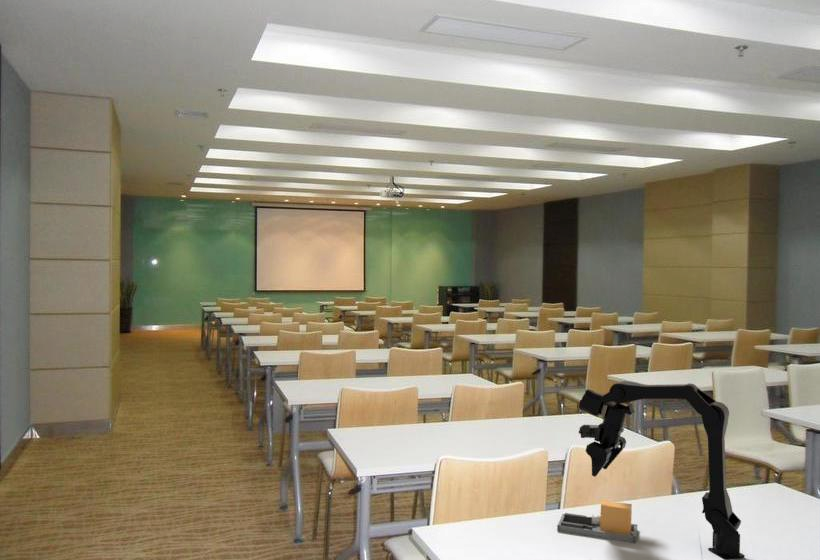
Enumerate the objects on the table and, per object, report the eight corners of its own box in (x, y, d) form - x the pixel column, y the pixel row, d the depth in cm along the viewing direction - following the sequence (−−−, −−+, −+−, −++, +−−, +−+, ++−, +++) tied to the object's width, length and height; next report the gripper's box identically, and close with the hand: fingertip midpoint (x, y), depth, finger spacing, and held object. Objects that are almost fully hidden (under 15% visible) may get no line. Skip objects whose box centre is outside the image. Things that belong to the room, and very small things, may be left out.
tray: (637, 533, 189) (637, 522, 189) (635, 546, 180) (635, 534, 180) (562, 522, 196) (562, 511, 196) (557, 534, 187) (557, 523, 187)
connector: (631, 532, 187) (631, 504, 187) (630, 538, 183) (630, 509, 183) (592, 526, 191) (593, 499, 191) (591, 532, 186) (591, 504, 186)
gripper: (597, 407, 205) (584, 454, 208) (575, 418, 190) (562, 468, 192) (632, 421, 199) (618, 469, 202) (613, 433, 184) (598, 484, 186)
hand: (599, 472), depth 196 cm, fingers open, 9 cm apart
